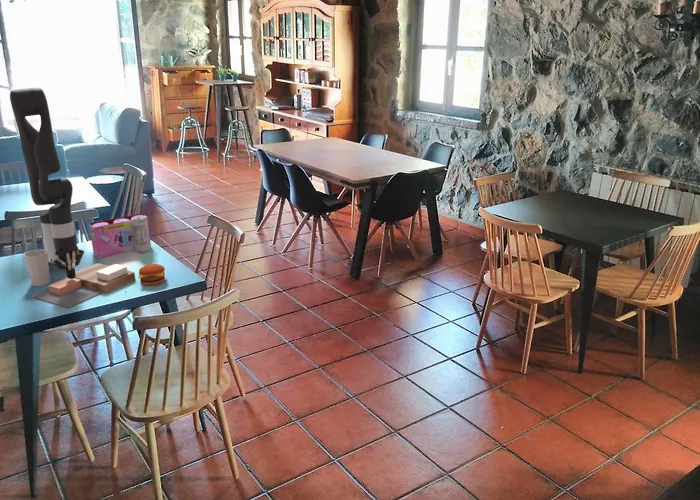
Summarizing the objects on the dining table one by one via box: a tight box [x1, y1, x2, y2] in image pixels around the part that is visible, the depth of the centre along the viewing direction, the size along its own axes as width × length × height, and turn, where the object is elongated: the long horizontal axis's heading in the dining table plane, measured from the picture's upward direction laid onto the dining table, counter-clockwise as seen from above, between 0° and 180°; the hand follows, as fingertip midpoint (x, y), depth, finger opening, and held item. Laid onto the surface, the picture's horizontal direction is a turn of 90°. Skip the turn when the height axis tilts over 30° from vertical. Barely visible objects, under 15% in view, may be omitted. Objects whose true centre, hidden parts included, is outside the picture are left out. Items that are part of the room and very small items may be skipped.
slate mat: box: [32, 286, 105, 309], centre depth 216 cm, size 19×15×1 cm
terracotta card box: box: [47, 277, 82, 295], centre depth 220 cm, size 6×9×2 cm, turn 151°
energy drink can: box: [132, 215, 151, 254], centre depth 255 cm, size 6×6×15 cm
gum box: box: [88, 213, 152, 259], centre depth 258 cm, size 24×8×14 cm, turn 128°
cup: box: [22, 248, 51, 287], centre depth 224 cm, size 8×8×12 cm
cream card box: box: [96, 263, 128, 281], centre depth 225 cm, size 6×9×2 cm, turn 152°
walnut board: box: [75, 262, 136, 294], centre depth 227 cm, size 20×14×3 cm
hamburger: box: [138, 263, 166, 287], centre depth 226 cm, size 9×10×7 cm
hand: (71, 278), depth 221 cm, fingers closed
